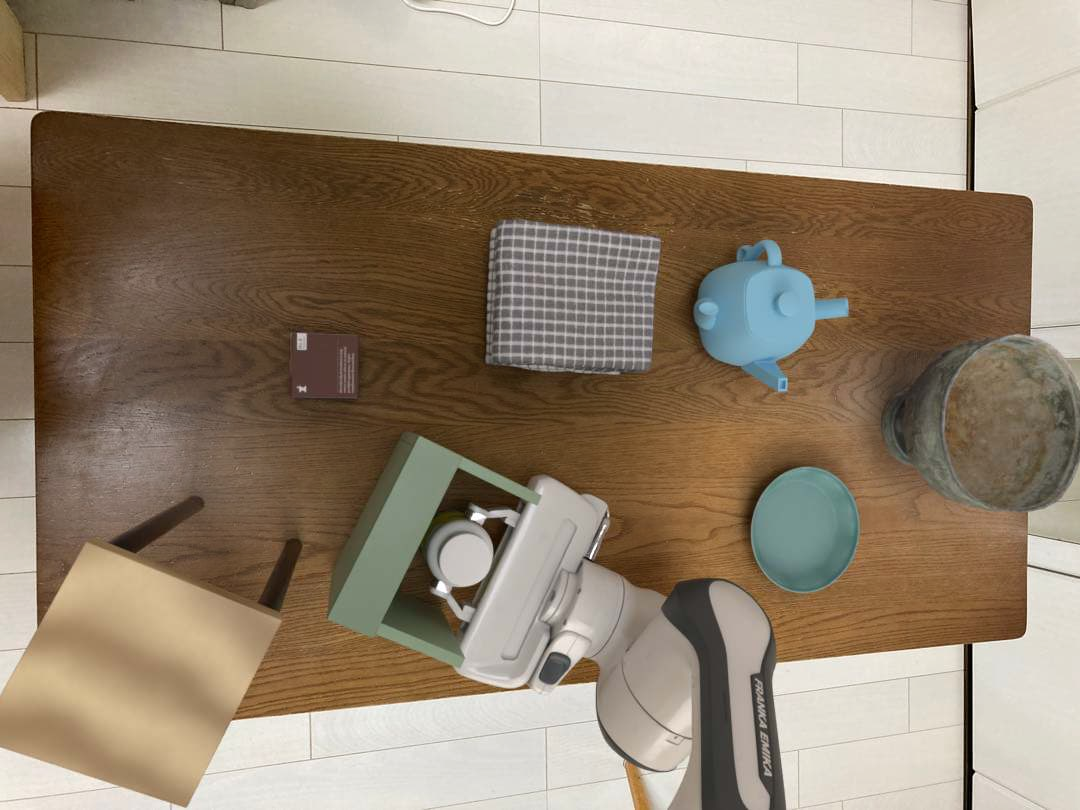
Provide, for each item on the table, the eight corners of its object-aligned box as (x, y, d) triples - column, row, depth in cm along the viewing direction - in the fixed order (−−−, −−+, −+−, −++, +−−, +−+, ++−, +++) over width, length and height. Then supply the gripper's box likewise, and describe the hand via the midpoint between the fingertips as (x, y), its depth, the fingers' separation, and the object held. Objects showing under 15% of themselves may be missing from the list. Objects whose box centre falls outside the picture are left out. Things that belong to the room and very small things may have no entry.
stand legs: (248, 651, 69) (190, 791, 43) (130, 605, 66) (-7, 726, 41) (305, 541, 71) (280, 615, 45) (191, 492, 68) (96, 541, 42)
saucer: (752, 603, 84) (765, 609, 81) (727, 482, 83) (739, 484, 80) (856, 568, 87) (871, 573, 85) (832, 452, 87) (847, 453, 84)
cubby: (438, 618, 74) (463, 675, 58) (331, 573, 71) (326, 619, 55) (505, 479, 76) (547, 497, 60) (403, 430, 73) (419, 435, 57)
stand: (191, 795, 43) (186, 808, 42) (-12, 728, 41) (-26, 739, 39) (284, 613, 45) (282, 620, 44) (94, 536, 42) (85, 541, 41)
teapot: (729, 407, 83) (787, 405, 72) (652, 321, 81) (700, 307, 70) (808, 318, 86) (876, 304, 75) (736, 233, 84) (795, 205, 73)
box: (357, 401, 72) (358, 400, 65) (294, 400, 70) (288, 398, 63) (358, 341, 72) (359, 333, 65) (296, 339, 70) (290, 331, 63)
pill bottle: (490, 528, 74) (513, 547, 63) (458, 580, 73) (477, 608, 63) (440, 497, 73) (455, 512, 62) (407, 550, 72) (417, 574, 61)
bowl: (982, 357, 93) (1099, 347, 78) (968, 505, 92) (1084, 522, 77) (855, 334, 88) (955, 318, 73) (839, 490, 87) (937, 505, 72)
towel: (484, 229, 76) (499, 208, 68) (643, 242, 80) (674, 225, 73) (481, 371, 75) (496, 366, 68) (641, 376, 80) (672, 373, 73)
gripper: (630, 511, 68) (504, 449, 65) (539, 712, 66) (403, 657, 63) (607, 503, 74) (491, 446, 71) (522, 687, 72) (398, 636, 69)
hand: (449, 546), depth 67 cm, fingers closed on pill bottle, 6 cm apart
